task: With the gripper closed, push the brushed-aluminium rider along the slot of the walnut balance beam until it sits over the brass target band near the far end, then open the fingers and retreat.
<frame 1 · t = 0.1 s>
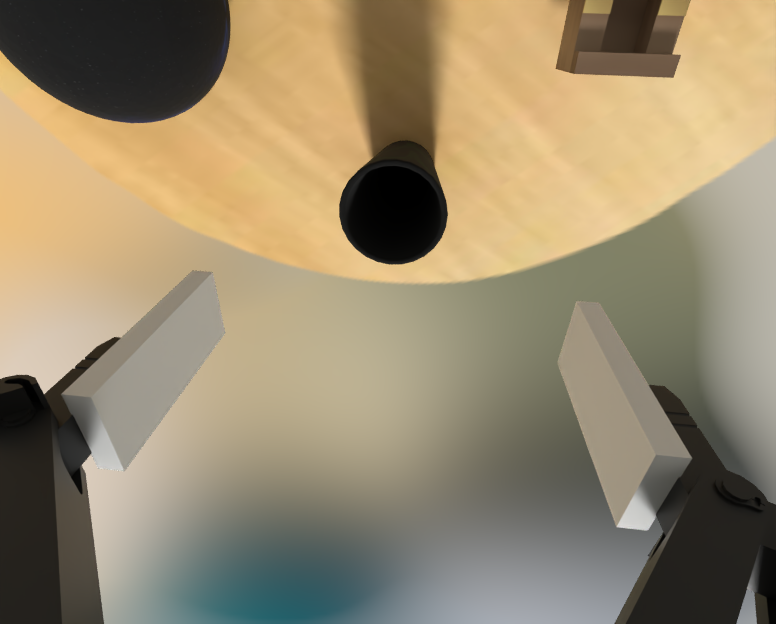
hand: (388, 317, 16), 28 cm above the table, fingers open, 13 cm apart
cup: (404, 171, 41), on the table
decorative sphere: (170, 8, 36), on the table
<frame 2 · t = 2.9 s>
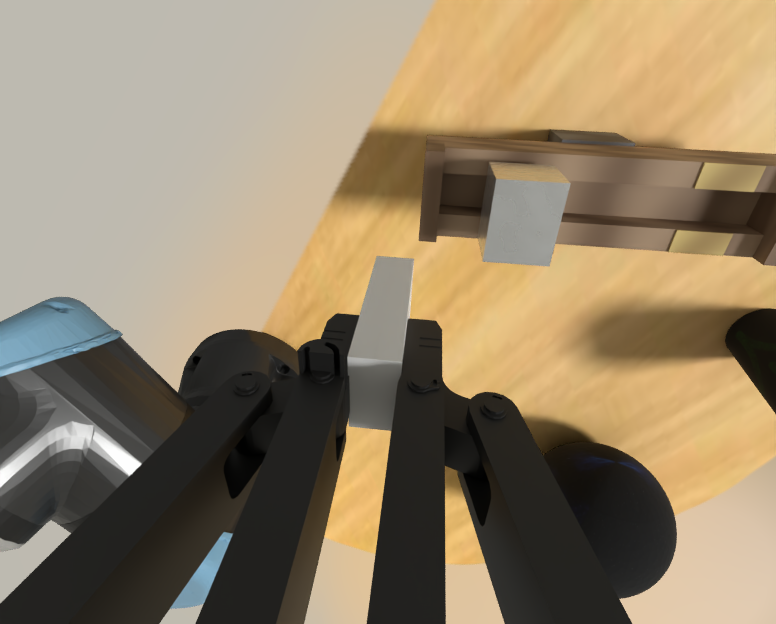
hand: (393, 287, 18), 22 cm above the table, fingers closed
cup: (756, 332, 42), on the table
rider: (515, 206, 28), point 10 cm above the table, slide at -6.0 cm
beam: (572, 172, 36), on the table
decorative sphere: (573, 457, 53), on the table
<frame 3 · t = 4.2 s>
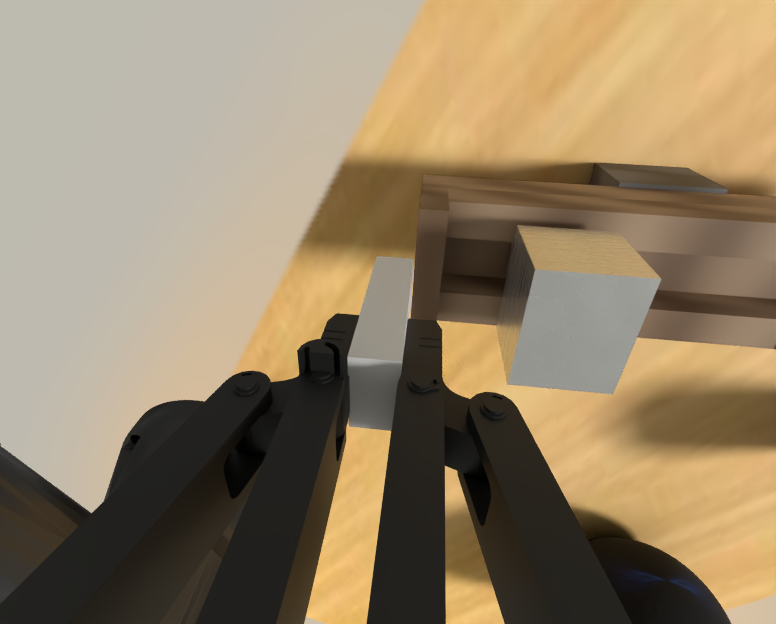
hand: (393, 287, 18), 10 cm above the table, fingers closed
rider: (556, 291, 18), point 10 cm above the table, slide at -6.0 cm
beam: (622, 220, 26), on the table
decorative sphere: (603, 547, 44), on the table
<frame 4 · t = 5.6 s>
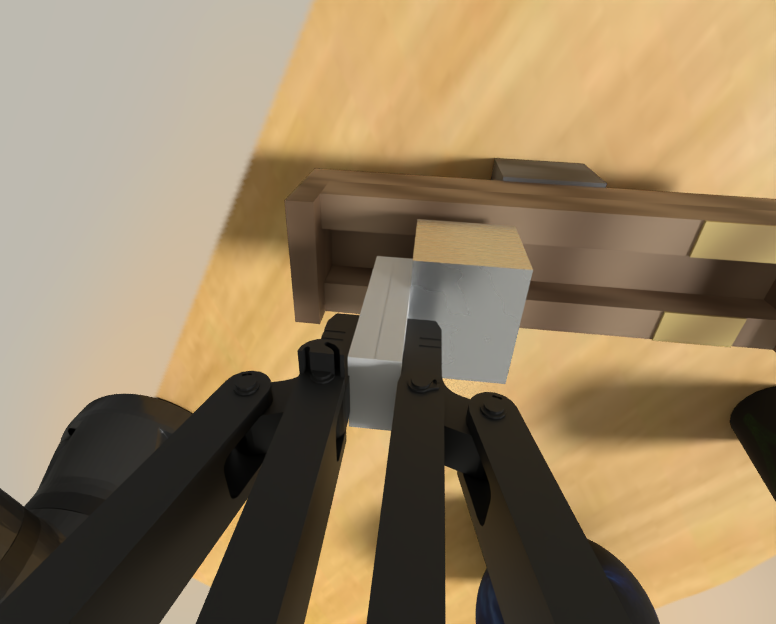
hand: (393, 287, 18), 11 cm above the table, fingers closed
cup: (770, 411, 33), on the table
rider: (458, 283, 19), point 10 cm above the table, slide at -4.5 cm, touching gripper
beam: (527, 215, 26), on the table
decorative sphere: (545, 540, 44), on the table
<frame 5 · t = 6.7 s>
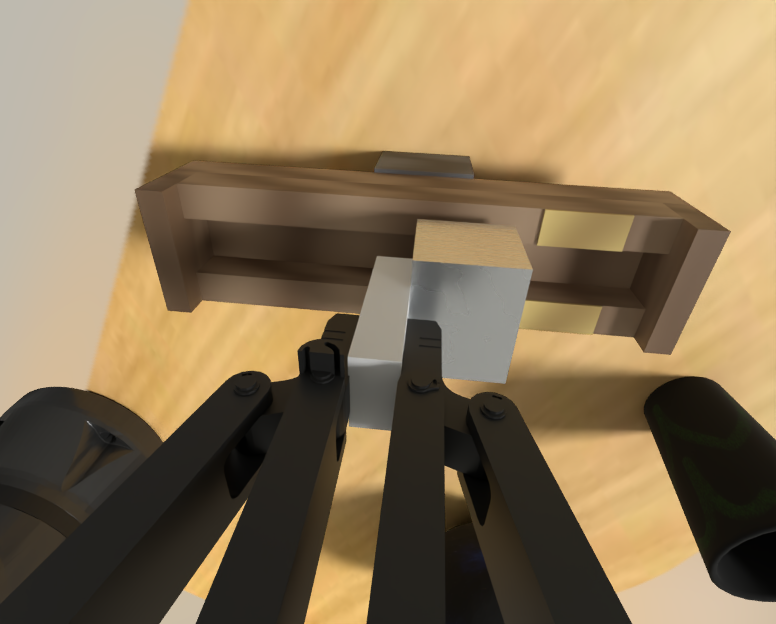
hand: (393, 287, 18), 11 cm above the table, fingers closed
cup: (682, 402, 33), on the table
rider: (458, 283, 19), point 10 cm above the table, slide at 1.9 cm, touching gripper
beam: (421, 207, 27), on the table
decorative sphere: (482, 533, 45), on the table
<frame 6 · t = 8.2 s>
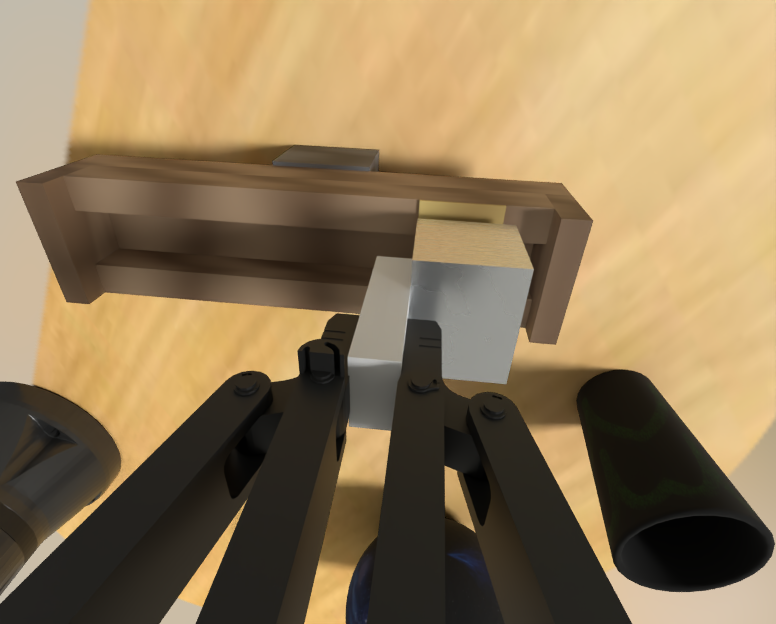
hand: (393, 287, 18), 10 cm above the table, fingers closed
cup: (614, 396, 33), on the table
rider: (459, 283, 19), point 10 cm above the table, slide at 7.2 cm, touching gripper
beam: (338, 201, 27), on the table
decorative sphere: (432, 527, 45), on the table
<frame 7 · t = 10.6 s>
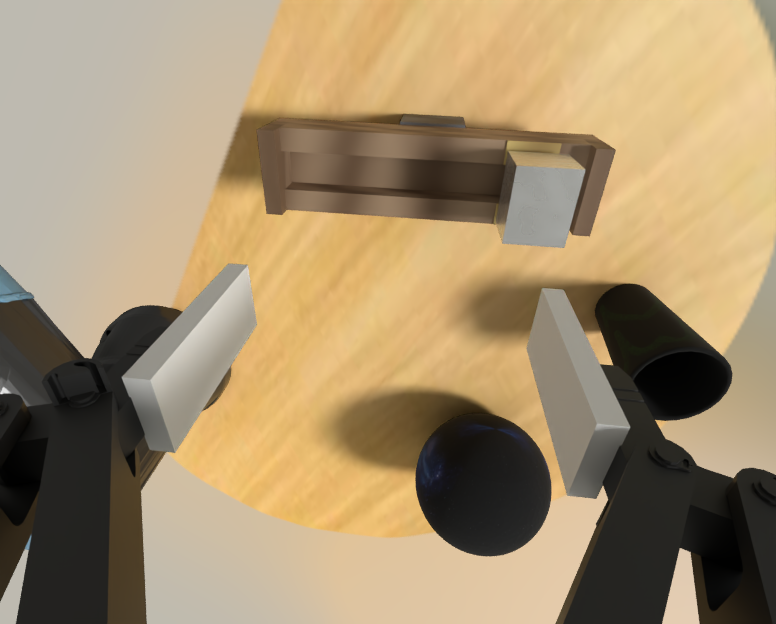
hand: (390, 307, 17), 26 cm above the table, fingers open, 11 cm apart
cup: (623, 306, 45), on the table
rider: (532, 192, 30), point 10 cm above the table, slide at 7.2 cm
beam: (430, 154, 38), on the table
decorative sphere: (476, 429, 56), on the table
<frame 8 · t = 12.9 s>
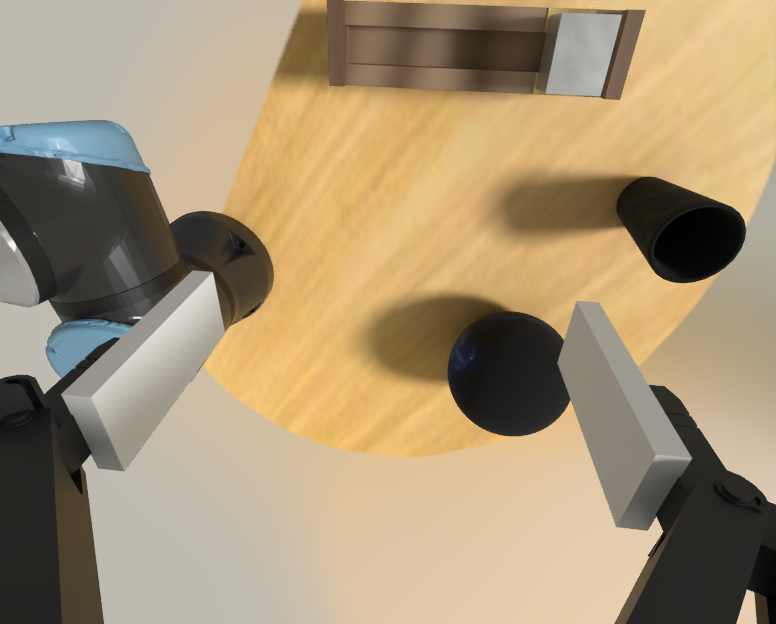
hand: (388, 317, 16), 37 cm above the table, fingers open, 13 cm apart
cup: (642, 201, 49), on the table
rider: (570, 54, 34), point 10 cm above the table, slide at 7.2 cm
beam: (470, 48, 42), on the table
decorative sphere: (501, 336, 60), on the table
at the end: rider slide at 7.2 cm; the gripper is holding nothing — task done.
